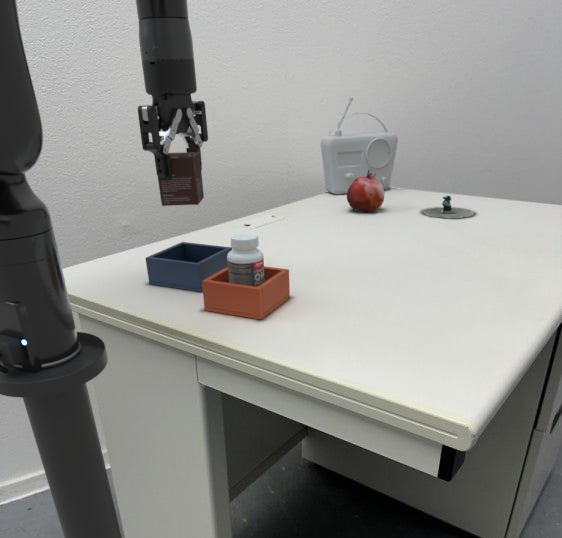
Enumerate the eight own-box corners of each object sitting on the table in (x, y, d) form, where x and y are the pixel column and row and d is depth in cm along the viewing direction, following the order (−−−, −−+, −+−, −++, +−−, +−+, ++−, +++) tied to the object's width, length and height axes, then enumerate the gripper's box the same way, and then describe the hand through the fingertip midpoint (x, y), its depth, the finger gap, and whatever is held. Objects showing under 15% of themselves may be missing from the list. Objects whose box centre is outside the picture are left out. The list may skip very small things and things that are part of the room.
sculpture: (413, 212, 137) (432, 185, 136) (434, 233, 141) (453, 207, 140) (442, 218, 126) (463, 189, 125) (464, 241, 131) (485, 213, 130)
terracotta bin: (261, 319, 78) (259, 289, 76) (204, 310, 82) (201, 280, 79) (289, 297, 85) (289, 269, 83) (236, 289, 89) (234, 262, 87)
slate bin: (201, 292, 89) (198, 264, 86) (149, 284, 93) (145, 257, 91) (234, 272, 97) (232, 247, 95) (185, 266, 101) (182, 241, 99)
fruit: (340, 208, 141) (341, 167, 136) (374, 205, 143) (376, 165, 138) (354, 216, 133) (355, 173, 128) (389, 212, 135) (392, 170, 130)
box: (204, 198, 91) (200, 151, 88) (198, 206, 86) (194, 156, 82) (168, 199, 91) (163, 152, 88) (160, 206, 86) (154, 157, 83)
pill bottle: (264, 306, 81) (261, 240, 76) (228, 306, 81) (223, 241, 76) (266, 293, 85) (263, 231, 81) (232, 294, 86) (227, 231, 81)
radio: (330, 197, 155) (331, 98, 143) (318, 192, 162) (319, 97, 150) (398, 190, 161) (405, 95, 149) (384, 185, 168) (390, 94, 156)
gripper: (175, 59, 86) (187, 168, 94) (114, 57, 75) (133, 182, 83) (216, 56, 83) (224, 170, 91) (158, 55, 72) (173, 185, 80)
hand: (180, 175), depth 87 cm, fingers closed on box, 7 cm apart
